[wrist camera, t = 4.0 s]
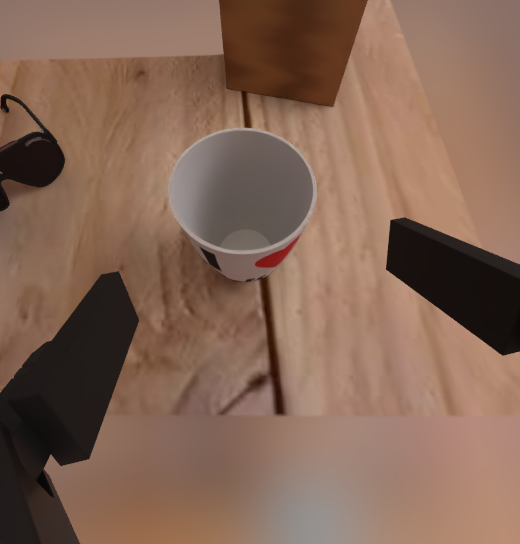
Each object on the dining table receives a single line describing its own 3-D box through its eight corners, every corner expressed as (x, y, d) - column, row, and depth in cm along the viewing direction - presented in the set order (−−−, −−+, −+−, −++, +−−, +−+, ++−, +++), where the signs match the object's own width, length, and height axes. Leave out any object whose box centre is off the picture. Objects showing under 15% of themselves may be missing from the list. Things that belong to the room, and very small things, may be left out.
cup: (200, 301, 23) (165, 258, 14) (199, 215, 26) (170, 129, 16) (295, 295, 24) (326, 250, 14) (286, 211, 26) (307, 125, 17)
